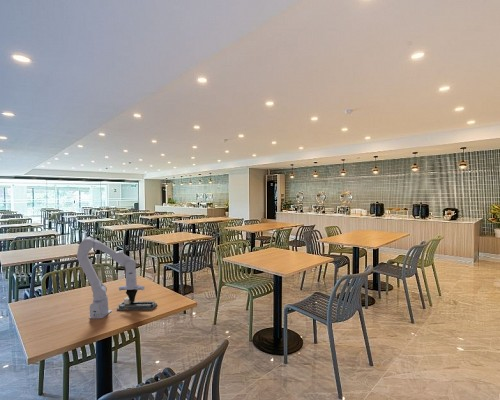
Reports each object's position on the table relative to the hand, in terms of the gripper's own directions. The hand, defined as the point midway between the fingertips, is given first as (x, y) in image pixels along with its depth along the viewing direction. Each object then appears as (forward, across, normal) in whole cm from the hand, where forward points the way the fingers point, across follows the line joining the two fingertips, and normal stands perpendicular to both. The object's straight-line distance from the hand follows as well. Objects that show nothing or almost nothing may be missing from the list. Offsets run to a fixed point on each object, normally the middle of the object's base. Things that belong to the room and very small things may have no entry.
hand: (132, 302), depth 165 cm
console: (+3, -3, 0) cm, 4 cm away
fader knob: (+2, +3, 0) cm, 3 cm away
